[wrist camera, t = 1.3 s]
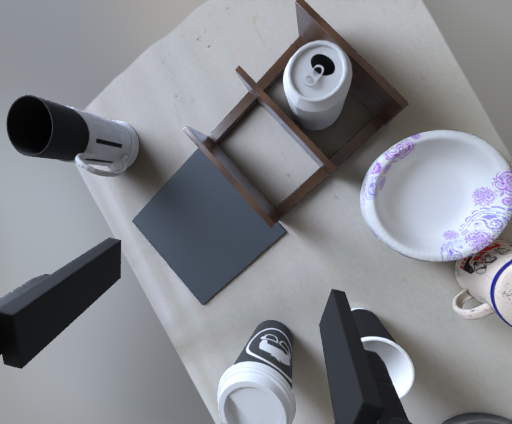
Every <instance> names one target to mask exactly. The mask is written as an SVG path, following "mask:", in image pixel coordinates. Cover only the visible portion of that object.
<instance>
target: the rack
mask: <svg viewBox="0 0 512 424" xmlns="http://www.w3.org/2000/svg"><path fill="white" fill-rule="evenodd" d="M295 4H296V13H297V22H298V31H299V37H298V39H297V40H296V41H295V42H294V43H293V44H292V45H291V46H290V47H289V48H288V49H287V51H286V52H285V53H284V54H283V55H282V56H281V57H280V58H279V59H278V60H277V62H276V63H275V64H274V65H273V66H272V67H271V68H270V69H269V70H268V71H267V72H266V74H265V75H264V76H263V77H262V78H261V79H260V80H259V81H258V82H257V83H255V81H254V80H253V79H252V78H251V77H250V76H249V75H248V74H247V73H246V72H245V71H244V70H243V69H242V68H241V67H240V66H238V67H237V69H236V70H235V71H236V73H237V74H238V76H239V77H240V79H241V80H242V81H243V83H244V84H245V86H246V87H247V89H248V90H249V92H248V93H247V94H246V95H245V97H244V98H243V99H242V100H241V101H240V102H239V103H238V104H237V105H236V106H235V107H234V109H233V110H232V111H231V112H230V113H229V114H228V115H227V116H226V117H225V118H224V119H223V121H222V122H221V123H220V124H219V125H218V126H217V127H216V128H215V129H214V130H213V132H212V133H211V134H210V135H209V136H206V135H204V134H202V133H200V132H198V131H196V130H194V129H192V128H190V127H188V126H186V127H185V128H184V129H183V131H184V132H185V133H186V134H187V135H188V136H189V137H190V138H191V140H192V141H193V142H194V143H195V144H196V145H197V146H198V147H199V148H200V150H201V151H202V152H203V153H204V154H205V155H206V156H207V157H208V158H209V160H210V161H211V162H212V163H213V164H214V165H215V166H216V167H217V169H218V170H219V171H220V172H221V173H222V174H223V175H224V176H225V177H226V179H227V180H228V181H229V182H230V183H231V184H232V185H233V186H234V187H235V189H236V190H237V191H238V192H239V193H240V194H241V195H242V196H243V197H244V199H245V200H246V201H247V202H248V203H249V204H250V205H251V206H252V207H253V209H254V210H255V211H256V212H257V213H258V214H259V215H260V216H261V218H262V219H263V220H264V221H265V222H266V223H267V224H268V225H269V226H270V228H272V227H273V226H274V225H275V224H276V223H277V222H279V221H280V220H281V219H282V218H283V217H282V216H283V215H284V214H286V213H287V212H288V211H289V210H290V209H291V208H292V207H293V206H294V205H296V204H297V203H298V202H299V201H300V200H301V199H302V198H303V197H304V196H306V195H307V194H308V193H309V192H310V191H311V190H312V189H313V188H314V187H316V186H317V185H318V184H319V183H320V182H321V181H322V180H323V179H324V178H326V177H327V176H328V175H329V176H330V175H331V174H332V173H333V172H334V171H335V170H336V169H337V167H338V166H339V165H340V164H341V163H342V162H343V161H344V160H345V159H347V158H348V157H349V156H350V155H351V154H352V153H353V152H354V151H355V150H357V149H358V148H359V147H360V146H361V145H362V144H363V143H364V142H365V141H367V140H368V139H369V138H370V137H371V136H372V135H373V134H374V133H375V132H377V131H378V130H379V129H380V128H381V127H382V126H383V125H386V124H388V123H389V122H390V121H391V120H392V119H393V118H394V117H395V116H396V115H397V114H399V113H400V112H401V111H402V110H403V109H404V108H405V107H406V106H407V105H408V104H409V103H408V102H407V101H406V100H405V99H404V98H403V97H402V96H401V95H400V94H399V93H398V92H397V91H396V90H395V89H394V88H393V87H392V86H391V85H390V84H389V83H388V82H387V81H386V80H385V79H384V78H383V77H382V76H381V75H380V74H379V73H378V72H377V71H376V70H375V69H374V68H373V67H372V66H371V65H369V64H368V63H367V62H366V61H365V60H364V59H363V58H362V57H361V56H360V55H359V54H358V53H357V52H356V51H355V50H354V49H353V48H352V47H351V46H350V45H349V44H348V43H347V42H346V41H345V40H344V39H343V38H342V37H341V36H340V35H339V34H338V33H337V32H336V31H335V30H334V29H333V28H332V27H331V26H330V25H329V24H328V23H327V22H326V21H325V20H324V19H323V18H322V17H320V16H319V15H318V14H317V13H316V12H315V11H314V10H313V9H312V8H311V7H310V6H309V5H308V4H307V3H306V2H305V1H304V0H296V2H295ZM317 40H321V41H329V42H331V43H334V44H336V45H337V46H339V47H340V48H341V49H342V50H343V51H344V52H345V53H346V54H347V56H348V58H349V60H350V62H351V66H352V79H351V84H350V88H349V90H350V91H351V92H352V93H353V94H354V95H355V96H356V97H357V98H358V99H359V100H360V101H361V102H362V103H363V104H364V105H365V106H366V107H367V108H368V109H369V110H370V111H371V112H372V113H373V114H374V115H375V116H376V117H375V118H374V119H373V120H372V121H370V122H369V123H368V124H367V125H366V126H365V127H364V128H363V129H362V130H361V131H360V132H358V133H357V134H356V135H355V136H354V137H353V138H352V139H351V140H350V141H349V142H348V143H346V144H345V145H344V146H343V147H342V148H341V149H340V150H339V151H338V152H337V153H336V154H334V155H333V156H332V157H331V158H330V159H328V158H327V157H326V156H325V155H324V154H323V153H322V152H321V151H320V150H319V148H318V147H317V146H316V145H315V144H314V143H313V142H312V141H311V140H310V139H309V138H308V137H307V136H306V135H305V134H304V133H303V132H302V131H301V130H300V129H299V128H298V126H297V125H296V124H295V123H294V122H293V121H292V120H291V119H290V118H289V117H288V116H287V115H286V114H285V113H284V112H283V111H282V110H281V109H280V108H279V107H278V106H277V104H276V103H275V102H274V101H273V100H272V99H271V98H270V97H269V96H268V95H267V94H266V91H267V90H268V89H269V88H270V87H271V86H272V85H273V84H274V83H275V82H276V81H277V80H278V79H279V78H280V76H281V75H282V74H283V73H284V72H285V68H286V66H287V64H288V62H289V60H290V58H291V57H292V56H293V55H294V54H295V53H296V52H297V51H298V50H299V49H300V48H301V47H303V46H304V45H306V44H308V43H310V42H314V41H317ZM257 101H258V102H259V103H260V104H261V105H262V106H263V107H264V108H265V109H266V110H267V111H268V112H269V113H270V114H271V115H272V116H273V117H274V118H275V120H276V121H277V122H278V123H279V124H280V125H281V126H282V127H283V128H284V129H285V130H286V131H287V132H288V133H289V134H290V135H291V136H292V137H293V139H294V140H295V141H296V142H297V143H298V144H299V145H300V146H301V147H302V148H303V149H304V150H305V151H306V152H307V153H308V154H309V155H310V156H311V158H312V159H313V160H314V161H315V162H316V163H317V164H318V165H319V166H320V168H319V169H318V170H317V171H316V172H315V173H314V174H313V175H312V176H311V177H309V178H308V179H307V180H306V181H305V182H304V183H303V184H302V185H301V186H300V187H299V188H297V189H296V190H295V191H294V192H293V193H292V194H291V195H290V196H289V197H288V198H287V199H285V200H284V201H283V202H282V203H281V204H280V205H279V206H278V207H277V208H276V209H275V208H274V207H273V206H272V205H271V204H270V203H269V202H268V201H267V199H266V198H265V197H264V196H263V195H262V194H261V193H260V192H259V191H258V190H257V188H256V187H255V186H254V185H253V184H252V183H251V182H250V181H249V180H248V179H247V177H246V176H245V175H244V174H243V173H242V172H241V171H240V170H239V169H238V168H237V166H236V165H235V164H234V163H233V162H232V161H231V160H230V159H229V158H228V157H227V155H226V154H225V153H224V152H223V151H222V150H221V149H220V148H219V147H218V145H217V144H218V143H219V142H220V141H221V140H222V139H223V138H224V136H225V135H226V134H227V133H228V132H229V131H230V130H231V129H232V128H233V127H234V126H235V125H236V124H237V123H238V121H239V120H240V119H241V118H242V117H243V116H244V115H245V114H246V113H247V112H248V111H249V110H250V109H251V108H252V106H253V105H254V104H255V103H256V102H257Z"/></svg>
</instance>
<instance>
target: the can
mask: <svg viewBox="0 0 512 424" xmlns="http://www.w3.org/2000/svg"><path fill="white" fill-rule="evenodd" d="M351 79H352V66H351V62H350V60H349V58H348V56H347V54H346V53H345V52H344V51H343V50H342V49H341V48H340V47H339V46H337V45H336V44H334V43H331V42H329V41H321V40H317V41H314V42H310V43H308V44H306V45H304V46H303V47H301V48H300V49H299V50H298V51H297V52H296V53H295V54H294V55H293V56H292V57H291V58H290V60H289V62H288V64H287V66H286V68H285V72H284V77H283V84H284V91H285V94H286V97H287V100H288V103H289V106H290V109H291V113H292V115H293V117H294V119H295V121H296V122H297V123H298V124H299V125H300V126H301V127H303V128H305V129H307V130H315V131H316V130H321V129H325V128H327V127H329V126H330V125H332V124H333V123H334V122H335V121H336V120H337V119H338V117H339V115H340V114H341V112H342V109H343V106H344V103H345V100H346V97H347V94H348V91H349V88H350V84H351Z"/></svg>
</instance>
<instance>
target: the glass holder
mask: <svg viewBox="0 0 512 424" xmlns="http://www.w3.org/2000/svg"><path fill="white" fill-rule="evenodd" d="M7 133H8V136H9V139H10V141H11V143H12V145H13V146H14V148H15V149H16V150H17V151H18V152H20V153H21V154H23V155H26V156H32V157H40V158H50V159H58V160H61V161H65V162H74V163H77V164H78V165H79V166H81V167H82V168H84V169H85V170H87V171H89V172H91V173H93V174H97V175H100V176H109V177H114V176H119V175H121V174H123V173H124V172H125V171H126V168H128V167H129V166H131V165H132V164H133V163H134V161H135V160H136V158H137V155H138V152H139V140H138V136H137V134H136V132H135V130H134V129H133V128H132V127H131V126H130V125H129V124H128V123H126V122H123V121H112V120H109V119H106V118H103V117H100V116H97V115H94V114H91V113H88V112H85V111H82V110H79V109H76V108H73V107H70V106H64V105H60V104H57V103H54V102H51V101H48V100H45V99H42V98H39V97H36V96H32V95H25V96H22V97H20V98H18V99H17V100H16V101H15V102H14V103H13V104H12V106H11V108H10V109H9V112H8V116H7ZM87 164H92V165H102V166H108V167H110V168H112V169H116V170H120V171H116V172H107V171H101V170H98V169H95V168H93V167H91V166H89V165H87Z"/></svg>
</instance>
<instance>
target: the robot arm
mask: <svg viewBox="0 0 512 424" xmlns="http://www.w3.org/2000/svg"><path fill="white" fill-rule="evenodd" d="M120 278H121V240H118V239H113V238H108V239H106V240H105V241H103V242H102V243H100V244H98V245H97V246H95V247H94V248H92V249H90V250H89V251H87V252H86V253H84V254H82V255H81V256H79V257H78V258H76V259H75V260H73V261H71V262H70V263H68V264H67V265H65V266H64V267H62V268H60V269H59V270H57V271H56V272H54V273H53V274H51V275H49V274H44V275H41V276H39V277H36V278H33V279H32V280H30V281H28V282H26V283H25V284H23V285H22V286H21V287H18V288H16V289H15V290H13V292H10V293H8V294H7V295H5V296H4V297H1V298H0V355H1V354H2V356H3V361H4V364H6V365H9V366H13V367H17V368H21V369H22V368H23V367H24V366H25V365H26V364H27V363H28V362H29V361H31V360H32V359H33V358H34V357H35V356H36V355H37V354H38V353H39V352H40V351H41V350H43V348H44V347H46V346H47V345H48V344H49V343H50V342H51V341H52V340H53V339H54V338H56V337H57V336H58V335H59V334H60V333H61V332H62V331H63V330H64V329H65V328H66V327H68V326H69V325H70V324H71V323H72V322H73V321H74V320H75V319H76V318H77V317H78V316H79V315H80V314H82V313H83V312H84V311H85V310H86V309H87V308H88V307H89V306H90V305H91V304H92V303H94V302H95V301H96V300H97V299H98V298H99V297H100V296H101V295H102V294H103V293H105V291H106V290H108V289H109V288H110V287H111V286H112V285H113V284H114V283H115V282H116V281H117V280H119V279H120ZM319 326H320V333H321V339H322V345H323V351H324V357H325V363H326V370H327V376H328V382H329V388H330V394H331V400H332V407H333V413H334V419H335V424H412V423H411V422H409V420H408V418H407V416H406V413H405V411H404V409H403V406H402V404H401V401H400V399H399V396H398V394H397V392H396V389H395V387H394V385H393V382H392V379H391V377H390V376H389V372H388V370H387V367H386V365H385V363H384V361H383V360H382V359H381V357H380V356H379V355H378V354H377V352H373V351H369V350H365V349H364V346H363V343H362V341H361V338H360V335H359V332H358V329H357V326H356V323H355V320H354V317H353V315H352V312H351V309H350V306H349V303H348V300H347V297H346V294H345V292H343V291H339V290H335V289H332V290H331V293H330V296H329V298H328V301H327V304H326V307H325V310H324V313H323V316H322V319H321V321H320V324H319ZM443 424H512V421H511V420H508V419H506V418H503V417H500V416H496V415H491V414H483V413H472V414H464V415H460V416H456V417H454V418H451V419H449V420H447V421H446V422H444V423H443Z"/></svg>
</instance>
